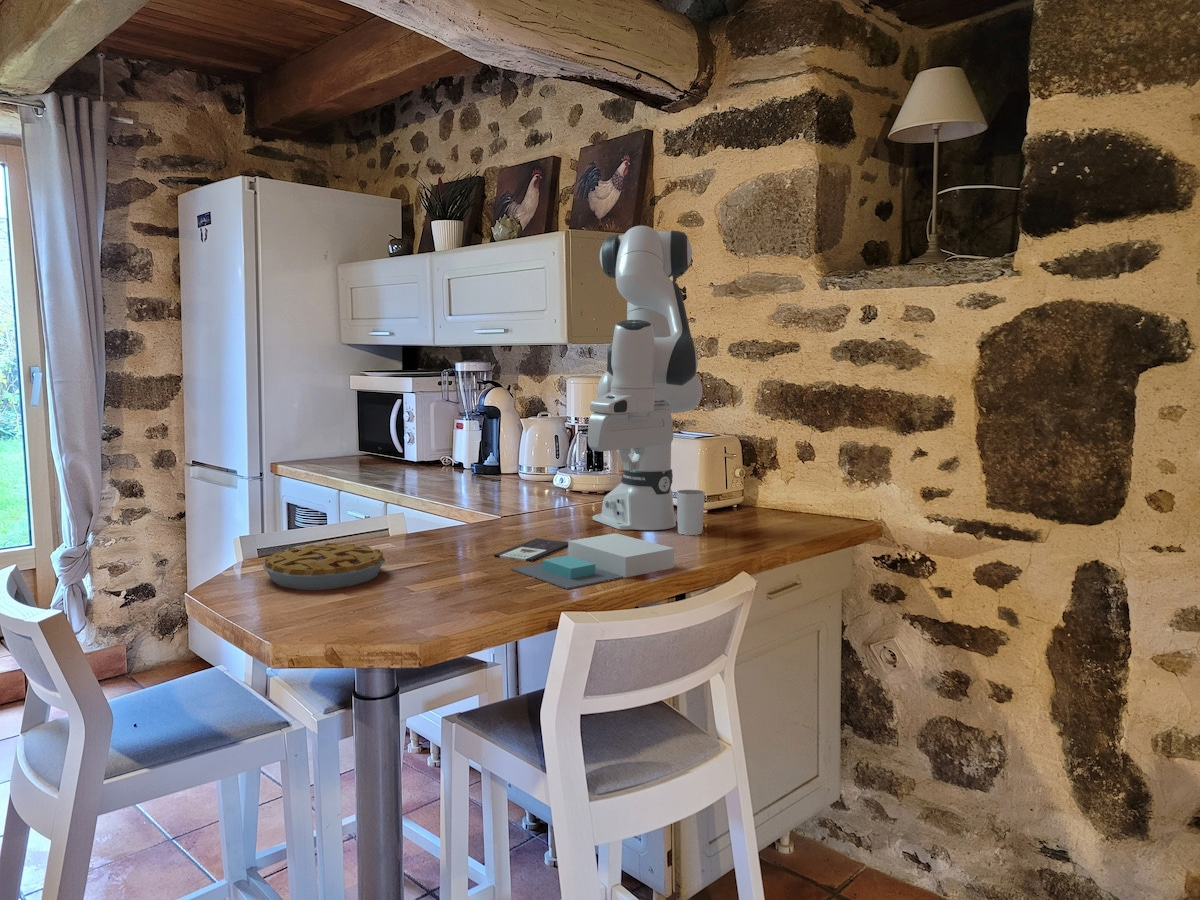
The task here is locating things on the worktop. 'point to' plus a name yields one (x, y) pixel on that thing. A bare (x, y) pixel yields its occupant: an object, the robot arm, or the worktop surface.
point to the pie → (324, 566)
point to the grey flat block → (622, 554)
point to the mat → (562, 581)
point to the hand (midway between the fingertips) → (631, 469)
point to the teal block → (569, 567)
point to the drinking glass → (690, 511)
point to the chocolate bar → (532, 550)
